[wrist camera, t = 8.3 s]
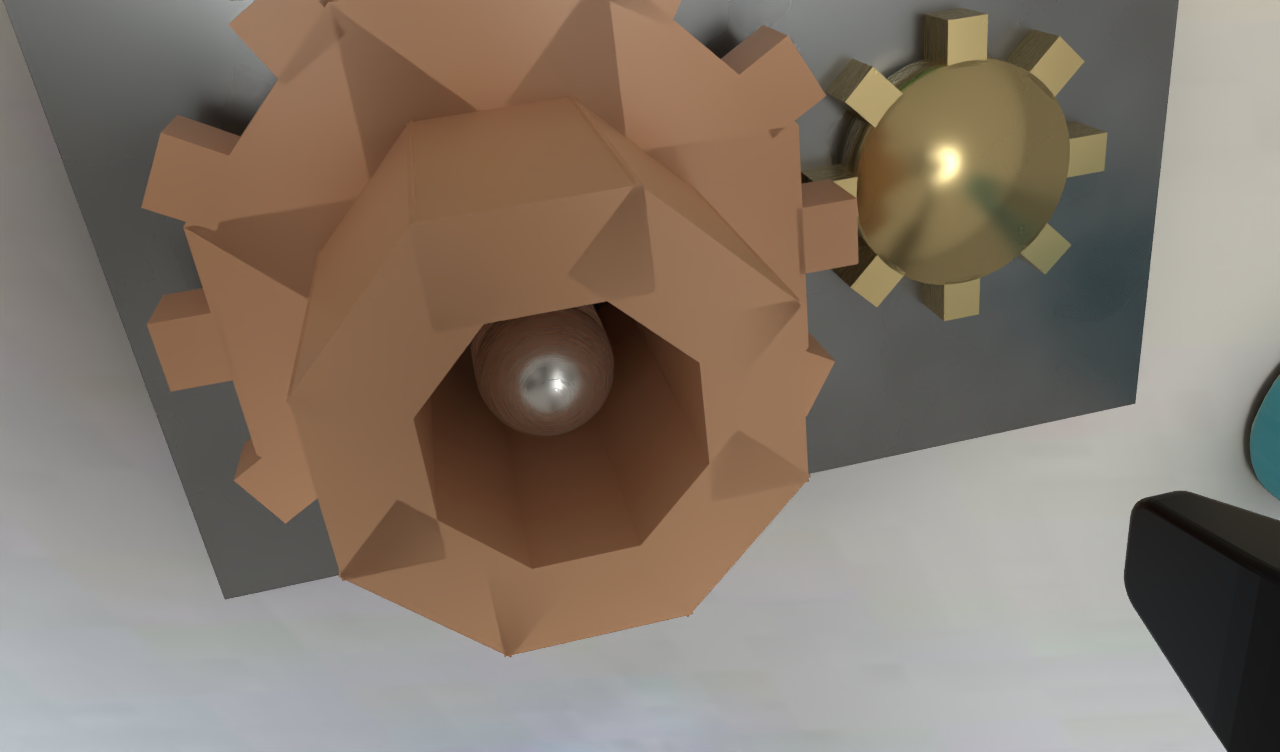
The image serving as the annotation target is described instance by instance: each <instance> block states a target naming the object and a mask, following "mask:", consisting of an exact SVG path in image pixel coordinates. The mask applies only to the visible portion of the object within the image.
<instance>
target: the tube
mask: <svg viewBox="0 0 1280 752" xmlns="http://www.w3.org/2000/svg"><path fill="white" fill-rule="evenodd" d="M1250 454H1251V462H1252V465H1253V468H1254V471H1255V474H1256V476H1257V478H1258V480H1259V481H1260V483H1261V484H1262V485H1263V486H1264V487H1265V488H1266V489H1267V490H1268V491H1269V492H1270V493H1271V494H1272V495H1273V496H1275V497H1276V498H1277V499H1279V500H1280V375H1279V376H1278V377H1277V379H1276V380H1275V381H1274V383H1273V384H1272V386H1271V388H1270V389H1269V391H1268V393H1267V395H1266V396H1265V398H1264V400H1263V402H1262V404H1261V406H1260V408H1259V410H1258V413H1257V415H1256V417H1255V419H1254V422H1253V424H1252V429H1251V434H1250Z"/></svg>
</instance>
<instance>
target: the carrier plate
mask: <svg viewBox="0 0 1280 752" xmlns="http://www.w3.org/2000/svg"><path fill="white" fill-rule="evenodd" d="M3 1H4V4H5V7H6V9H7V12H8V15H9V17H10V20H11V23H12V26H13V28H14V31H15V34H16V36H17V39H18V42H19V44H20V47H21V50H22V53H23V55H24V58H25V61H26V63H27V66H28V69H29V71H30V74H31V77H32V80H33V82H34V85H35V88H36V90H37V93H38V96H39V99H40V101H41V104H42V107H43V109H44V112H45V115H46V117H47V120H48V123H49V126H50V128H51V131H52V134H53V136H54V139H55V142H56V144H57V147H58V150H59V153H60V155H61V158H62V161H63V163H64V166H65V169H66V171H67V174H68V177H69V180H70V182H71V185H72V188H73V190H74V193H75V196H76V198H77V201H78V204H79V207H80V209H81V212H82V215H83V217H84V220H85V223H86V226H87V228H88V231H89V234H90V236H91V239H92V242H93V244H94V247H95V250H96V253H97V255H98V258H99V261H100V263H101V266H102V269H103V271H104V274H105V277H106V280H107V282H108V285H109V288H110V290H111V293H112V296H113V298H114V301H115V304H116V307H117V309H118V312H119V315H120V317H121V320H122V323H123V325H124V328H125V331H126V334H127V336H128V339H129V342H130V344H131V347H132V350H133V352H134V355H135V358H136V361H137V363H138V366H139V369H140V371H141V374H142V377H143V380H144V382H145V385H146V388H147V390H148V393H149V396H150V398H151V401H152V404H153V407H154V409H155V412H156V415H157V417H158V420H159V423H160V425H161V428H162V431H163V434H164V436H165V439H166V442H167V444H168V447H169V450H170V452H171V455H172V458H173V461H174V463H175V466H176V469H177V471H178V474H179V477H180V479H181V482H182V485H183V488H184V490H185V493H186V496H187V498H188V501H189V504H190V506H191V509H192V512H193V515H194V517H195V520H196V523H197V525H198V528H199V531H200V534H201V536H202V539H203V542H204V544H205V547H206V550H207V552H208V555H209V558H210V561H211V563H212V566H213V569H214V571H215V574H216V577H217V579H218V582H219V585H220V588H221V590H222V593H223V596H224V598H225V599H230V598H234V597H239V596H244V595H248V594H253V593H258V592H262V591H267V590H271V589H276V588H281V587H285V586H290V585H295V584H299V583H304V582H309V581H313V580H318V579H323V578H327V577H332V576H336V575H339V568H338V565H337V561H336V558H335V555H334V551H333V548H332V545H331V541H330V538H329V535H328V531H327V528H326V524H325V521H324V518H323V514H322V511H321V508H320V504H319V501H318V498H317V499H316V500H315V501H313V502H312V503H311V504H309V505H308V506H307V507H306V508H304V509H303V510H302V511H301V512H299V513H298V514H297V515H296V516H294V517H293V518H292V519H291V520H289V521H288V522H287V523H284V522H283V521H282V520H281V519H280V518H278V517H277V516H276V515H275V514H273V513H272V512H271V511H270V510H269V509H267V508H266V507H265V506H264V505H263V504H261V503H260V502H259V501H258V500H257V499H255V498H254V497H253V496H252V495H251V494H249V493H248V492H247V491H246V490H244V489H243V488H242V487H241V486H240V485H238V484H237V483H236V482H235V481H234V477H235V474H236V470H237V466H238V463H239V459H240V455H241V452H242V448H243V444H244V443H245V442H246V441H248V440H249V439H250V438H251V436H250V432H249V429H248V426H247V423H246V420H245V417H244V414H243V411H242V408H241V405H240V401H239V398H238V395H237V392H236V389H235V386H234V383H233V380H231V381H226V382H220V383H215V384H210V385H204V386H199V387H194V388H188V389H183V390H177V391H172V392H171V391H170V389H169V386H168V383H167V380H166V377H165V374H164V372H163V369H162V366H161V363H160V360H159V358H158V355H157V352H156V349H155V346H154V343H153V341H152V338H151V335H150V332H149V329H148V327H147V323H148V321H149V320H150V318H151V316H152V314H153V312H154V311H155V309H156V307H157V305H158V304H159V302H160V300H161V298H162V296H163V295H166V294H172V293H177V292H183V291H189V290H195V289H200V288H203V287H202V284H201V281H200V278H199V275H198V271H197V268H196V265H195V262H194V259H193V256H192V253H191V250H190V247H189V244H188V240H187V237H186V234H185V231H184V228H183V226H184V225H185V223H186V222H185V221H182V220H179V219H175V218H172V217H169V216H166V215H163V214H159V213H156V212H153V211H150V210H147V209H144V208H141V207H142V203H143V199H144V195H145V191H146V187H147V184H148V180H149V176H150V172H151V168H152V164H153V160H154V156H155V153H156V149H157V145H158V141H159V137H160V133H161V132H162V131H163V130H164V129H165V127H166V126H167V125H168V124H169V123H170V122H171V121H172V120H173V119H174V118H175V117H176V115H180V116H183V117H186V118H189V119H192V120H195V121H197V122H200V123H203V124H206V125H209V126H212V127H215V128H218V129H221V130H223V131H226V132H229V133H232V134H235V135H238V136H241V135H242V134H243V132H244V131H245V129H246V127H247V126H248V124H249V123H250V121H251V120H252V118H253V117H254V115H255V113H256V112H257V110H258V109H259V107H260V106H261V104H262V103H263V101H264V99H265V98H266V96H267V95H268V93H269V92H270V90H271V89H272V87H273V85H274V84H275V82H276V81H277V79H278V78H277V77H276V76H275V75H274V74H273V73H272V72H271V71H270V69H269V68H268V67H267V66H266V65H265V64H264V63H263V62H262V61H261V60H260V59H259V58H258V56H257V55H256V54H255V53H254V52H253V51H252V50H251V49H250V48H249V47H248V46H247V45H246V43H245V42H244V41H243V40H242V39H241V38H240V37H239V36H238V35H237V34H236V33H235V32H234V30H233V29H232V28H231V27H230V26H229V25H228V24H229V23H230V22H231V21H233V20H234V19H235V18H236V17H237V16H238V15H239V14H240V13H242V12H243V11H244V10H245V9H246V8H247V7H249V6H250V5H251V4H252V3H253V2H254V1H255V0H3ZM1178 1H1179V0H681V2H680V5H679V7H678V10H677V12H676V14H675V17H674V19H673V20H674V21H675V22H677V23H678V24H679V25H680V26H681V27H683V28H684V29H685V30H686V31H687V32H689V33H690V34H691V35H692V36H693V37H695V38H696V39H697V40H698V41H699V42H701V43H702V44H703V45H704V46H705V47H707V48H708V49H709V50H710V51H711V52H713V53H714V54H715V55H716V56H717V57H719V58H720V59H721V58H723V57H724V56H725V55H726V54H728V53H729V52H730V51H731V50H733V49H734V48H735V47H736V46H738V45H739V44H740V43H741V42H742V41H744V40H745V39H746V38H747V37H749V36H750V35H751V34H752V33H754V32H755V31H756V30H757V29H759V28H760V27H761V26H762V25H764V26H767V27H769V28H771V29H774V30H776V31H778V32H781V33H783V34H786V35H788V36H789V38H790V39H791V41H792V42H793V44H794V46H795V47H796V49H797V50H798V52H799V53H800V55H801V57H802V58H803V60H804V61H805V63H806V65H807V66H808V68H809V69H810V71H811V72H812V74H813V76H814V77H815V79H816V80H817V82H818V83H819V85H820V87H821V88H822V90H823V91H824V93H825V94H826V97H824V98H823V99H822V100H821V101H819V102H818V103H817V104H815V105H814V106H813V107H812V108H810V109H809V110H808V111H807V112H805V113H804V114H803V115H802V116H800V117H799V118H798V119H796V120H795V122H796V123H798V125H799V142H800V164H801V184H803V183H809V182H814V181H820V180H826V179H831V180H832V181H833V182H835V183H836V184H838V185H839V186H840V187H842V188H843V189H845V190H846V191H847V192H849V193H850V194H852V195H853V196H854V197H856V198H857V220H858V264H855V265H849V266H844V267H839V268H833V269H828V270H822V271H817V272H812V273H806V296H807V318H808V333H810V334H811V335H812V336H813V337H814V338H815V339H816V340H817V341H818V342H819V344H820V345H821V346H822V347H823V348H824V349H825V350H826V351H827V353H828V354H829V355H830V356H831V357H832V358H833V359H834V360H835V363H834V365H833V367H832V369H831V371H830V372H829V374H828V376H827V378H826V380H825V382H824V384H823V386H822V388H821V390H820V392H819V394H818V396H817V398H816V400H815V401H814V403H813V405H812V407H811V409H810V411H809V413H808V415H807V417H806V416H805V417H806V438H807V458H808V473H809V474H810V473H815V472H819V471H824V470H829V469H833V468H838V467H843V466H847V465H852V464H857V463H861V462H866V461H871V460H875V459H880V458H884V457H889V456H894V455H898V454H903V453H908V452H912V451H917V450H922V449H926V448H931V447H936V446H940V445H945V444H949V443H954V442H959V441H963V440H968V439H973V438H977V437H982V436H987V435H991V434H996V433H1001V432H1005V431H1010V430H1014V429H1019V428H1024V427H1028V426H1033V425H1038V424H1042V423H1047V422H1052V421H1056V420H1061V419H1066V418H1070V417H1075V416H1079V415H1084V414H1089V413H1093V412H1098V411H1103V410H1107V409H1112V408H1117V407H1121V406H1126V405H1131V404H1135V400H1136V391H1137V382H1138V372H1139V363H1140V354H1141V344H1142V335H1143V326H1144V317H1145V307H1146V298H1147V289H1148V280H1149V270H1150V261H1151V252H1152V242H1153V233H1154V224H1155V215H1156V205H1157V196H1158V187H1159V178H1160V168H1161V159H1162V150H1163V140H1164V131H1165V122H1166V113H1167V103H1168V94H1169V85H1170V76H1171V66H1172V57H1173V48H1174V38H1175V29H1176V20H1177V11H1178ZM603 304H604V302H600V303H595V304H589V305H584V306H579V307H573V308H568V309H562V310H557V311H552V312H546V313H541V314H535V315H530V316H524V317H519V318H514V319H508V320H503V321H497V322H492V323H487V324H484V325H483V326H482V327H481V329H480V330H479V331H478V333H477V334H476V335H475V337H474V338H473V339H472V341H471V342H470V343H469V345H468V347H469V348H471V353H472V359H473V366H474V373H475V380H476V383H477V387H478V390H479V393H480V395H481V397H482V399H483V401H484V403H485V404H486V406H487V407H488V409H489V410H490V411H491V412H492V413H493V415H494V416H495V417H497V418H498V419H499V420H500V421H501V422H503V423H504V424H506V425H507V426H509V427H510V428H512V429H514V430H516V431H519V432H522V433H525V434H529V435H534V436H555V435H560V434H564V433H567V432H570V431H572V430H574V429H576V428H578V427H580V426H582V425H583V424H585V423H586V422H587V421H589V420H590V419H591V418H592V417H593V416H594V415H595V414H596V413H597V412H598V411H599V409H600V408H601V407H602V405H603V404H604V402H605V400H606V398H607V396H608V394H609V391H610V389H611V386H612V382H613V377H614V357H613V352H612V348H611V344H610V342H609V339H608V337H607V334H606V332H605V330H604V328H603V326H602V323H601V321H600V319H599V317H598V314H597V311H598V310H599V309H600V308H601V306H602V305H603Z"/></svg>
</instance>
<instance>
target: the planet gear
mask: <svg viewBox="0 0 1280 752" xmlns="http://www.w3.org/2000/svg"><path fill="white" fill-rule="evenodd" d="M680 2H681V0H255V1H254V2H253V3H252V4H251V5H250V6H249V7H247V8H246V9H245V10H244V11H243V12H242V13H240V14H239V15H238V16H237V17H236V18H235V19H234V20H233V21H231V22H230V23H229V24H228V25H229V26H230V27H231V28H232V29H233V30H234V32H235V33H236V34H237V35H238V36H239V37H240V38H241V39H242V40H243V41H244V42H245V43H246V45H247V46H248V47H249V48H250V49H251V50H252V51H253V52H254V53H255V54H256V55H257V56H258V58H259V59H260V60H261V61H262V62H263V63H264V64H265V65H266V66H267V67H268V68H269V69H270V71H271V72H272V73H273V74H274V75H275V76H276V77H277V78H278V79H277V81H276V82H275V84H274V85H273V87H272V89H271V90H270V92H269V93H268V95H267V96H266V98H265V99H264V101H263V103H262V104H261V106H260V107H259V109H258V110H257V112H256V113H255V115H254V117H253V118H252V120H251V121H250V123H249V124H248V126H247V127H246V129H245V131H244V132H243V134H242V135H241V136H238V135H235V134H232V133H229V132H226V131H223V130H221V129H218V128H215V127H212V126H209V125H206V124H203V123H200V122H197V121H195V120H192V119H189V118H186V117H183V116H180V115H176V117H175V118H174V119H173V120H172V121H171V122H170V123H169V124H168V125H167V126H166V127H165V129H164V130H163V131H162V132H161V133H160V137H159V141H158V145H157V149H156V153H155V156H154V160H153V164H152V168H151V172H150V176H149V180H148V184H147V187H146V191H145V195H144V199H143V203H142V207H141V208H144V209H147V210H150V211H153V212H156V213H159V214H163V215H166V216H169V217H172V218H175V219H179V220H182V221H185V222H186V223H185V225H184V226H183V228H184V231H185V234H186V237H187V240H188V244H189V247H190V250H191V253H192V256H193V259H194V262H195V265H196V268H197V271H198V275H199V278H200V281H201V284H202V287H203V288H200V289H195V290H189V291H183V292H177V293H172V294H166V295H163V296H162V298H161V300H160V302H159V304H158V305H157V307H156V309H155V311H154V312H153V314H152V316H151V318H150V320H149V321H148V323H147V327H148V329H149V332H150V335H151V338H152V341H153V343H154V346H155V349H156V352H157V355H158V358H159V360H160V363H161V366H162V369H163V372H164V374H165V377H166V380H167V383H168V386H169V389H170V391H171V392H172V391H177V390H183V389H188V388H194V387H199V386H204V385H210V384H215V383H220V382H226V381H231V380H233V383H234V386H235V389H236V392H237V395H238V398H239V401H240V405H241V408H242V411H243V414H244V417H245V420H246V423H247V426H248V429H249V432H250V436H251V438H250V439H249V440H248V441H246V442H245V443H244V444H243V448H242V452H241V455H240V459H239V463H238V466H237V470H236V474H235V477H234V481H235V482H236V483H237V484H238V485H240V486H241V487H242V488H243V489H244V490H246V491H247V492H248V493H249V494H251V495H252V496H253V497H254V498H255V499H257V500H258V501H259V502H260V503H261V504H263V505H264V506H265V507H266V508H267V509H269V510H270V511H271V512H272V513H273V514H275V515H276V516H277V517H278V518H280V519H281V520H282V521H283V522H284V523H287V522H288V521H289V520H291V519H292V518H293V517H294V516H296V515H297V514H298V513H299V512H301V511H302V510H303V509H304V508H306V507H307V506H308V505H309V504H311V503H312V502H313V501H315V500H316V499H317V498H318V501H319V504H320V508H321V511H322V514H323V518H324V521H325V524H326V528H327V531H328V535H329V538H330V541H331V545H332V548H333V551H334V555H335V558H336V561H337V565H338V568H339V575H338V577H340V578H342V581H344V580H347V581H349V582H351V583H353V584H355V585H357V586H360V587H362V588H364V589H366V590H368V591H370V592H372V593H375V594H377V595H379V596H381V597H383V598H385V599H387V600H389V601H392V602H394V603H396V604H398V605H400V606H402V607H404V608H407V609H409V610H411V611H413V612H415V613H417V614H419V615H421V616H424V617H426V618H428V619H430V620H432V621H434V622H436V623H439V624H441V625H443V626H445V627H447V628H449V629H451V630H453V631H456V632H458V633H460V634H462V635H464V636H466V637H468V638H471V639H473V640H475V641H477V642H479V643H481V644H483V645H485V646H488V647H490V648H492V649H494V650H496V651H498V652H500V653H503V654H504V656H505V657H506V656H509V657H511V656H512V655H514V654H519V653H523V652H528V651H532V650H536V649H541V648H545V647H550V646H554V645H558V644H563V643H567V642H572V641H576V640H580V639H585V638H589V637H594V636H598V635H602V634H607V633H611V632H616V631H620V630H625V629H629V628H633V627H638V626H642V625H647V624H651V623H655V622H660V621H664V620H669V619H673V618H677V617H682V616H687V617H688V616H689V615H691V614H693V611H694V609H695V608H696V607H697V606H698V605H699V604H700V603H701V601H702V600H703V599H704V598H705V597H706V596H707V595H708V593H709V592H710V591H711V590H712V589H713V588H714V587H715V585H716V584H717V583H718V582H719V581H720V580H721V578H722V577H723V576H724V575H725V574H726V573H727V572H728V570H729V569H730V568H731V567H732V566H733V565H734V564H735V562H736V561H737V560H738V559H739V558H740V557H741V556H742V554H743V553H744V552H745V551H746V550H747V549H748V548H749V546H750V545H751V544H752V543H753V542H754V541H755V539H756V538H757V537H758V536H759V535H760V534H761V533H762V531H763V530H764V529H765V528H766V527H767V526H768V525H769V523H770V522H771V521H772V520H773V519H774V518H775V517H776V515H777V514H778V513H779V512H780V511H781V510H782V508H783V507H784V506H785V505H786V504H787V503H788V502H789V500H790V499H791V498H792V497H793V496H794V495H795V494H796V492H797V491H798V490H799V489H800V488H801V487H802V486H803V484H804V483H805V482H808V481H809V478H810V474H809V473H808V458H807V438H806V417H807V415H808V413H809V411H810V409H811V407H812V405H813V403H814V401H815V400H816V398H817V396H818V394H819V392H820V390H821V388H822V386H823V384H824V382H825V380H826V378H827V376H828V374H829V372H830V371H831V369H832V367H833V365H834V363H835V360H834V359H833V358H832V357H831V356H830V355H829V354H828V353H827V351H826V350H825V349H824V348H823V347H822V346H821V345H820V344H819V342H818V341H817V340H816V339H815V338H814V337H813V336H812V335H811V334H810V333H808V318H807V296H806V273H812V272H817V271H822V270H828V269H833V268H839V267H844V266H849V265H855V264H858V220H857V198H856V197H854V196H853V195H852V194H850V193H849V192H847V191H846V190H845V189H843V188H842V187H840V186H839V185H838V184H836V183H835V182H833V181H832V180H831V179H826V180H820V181H814V182H809V183H803V184H801V164H800V142H799V125H798V123H796V122H795V120H796V119H798V118H799V117H800V116H802V115H803V114H804V113H805V112H807V111H808V110H809V109H810V108H812V107H813V106H814V105H815V104H817V103H818V102H819V101H821V100H822V99H823V98H824V97H826V94H825V93H824V91H823V90H822V88H821V87H820V85H819V83H818V82H817V80H816V79H815V77H814V76H813V74H812V72H811V71H810V69H809V68H808V66H807V65H806V63H805V61H804V60H803V58H802V57H801V55H800V53H799V52H798V50H797V49H796V47H795V46H794V44H793V42H792V41H791V39H790V38H789V36H788V35H786V34H783V33H781V32H778V31H776V30H774V29H771V28H769V27H767V26H764V25H762V26H761V27H760V28H759V29H757V30H756V31H755V32H754V33H752V34H751V35H750V36H749V37H747V38H746V39H745V40H744V41H742V42H741V43H740V44H739V45H738V46H736V47H735V48H734V49H733V50H731V51H730V52H729V53H728V54H726V55H725V56H724V57H723V58H721V59H720V58H719V57H717V56H716V55H715V54H714V53H713V52H711V51H710V50H709V49H708V48H707V47H705V46H704V45H703V44H702V43H701V42H699V41H698V40H697V39H696V38H695V37H693V36H692V35H691V34H690V33H689V32H687V31H686V30H685V29H684V28H683V27H681V26H680V25H679V24H678V23H677V22H675V21H674V20H673V19H674V17H675V14H676V12H677V10H678V7H679V5H680ZM600 302H604V304H603V305H602V306H601V308H600V309H599V310H598V311H597V314H598V317H599V319H600V321H601V323H602V326H603V328H604V330H605V332H606V334H607V337H608V339H609V342H610V344H611V348H612V352H613V357H614V377H613V382H612V386H611V389H610V391H609V394H608V396H607V398H606V400H605V402H604V404H603V405H602V407H601V408H600V409H599V411H598V412H597V413H596V414H595V415H594V416H593V417H592V418H591V419H590V420H589V421H587V422H586V423H585V424H583V425H582V426H580V427H578V428H576V429H574V430H572V431H570V432H567V433H564V434H560V435H555V436H534V435H529V434H525V433H522V432H519V431H516V430H514V429H512V428H510V427H509V426H507V425H506V424H504V423H503V422H501V421H500V420H499V419H498V418H497V417H495V416H494V415H493V413H492V412H491V411H490V410H489V409H488V407H487V406H486V404H485V403H484V401H483V399H482V397H481V395H480V393H479V390H478V387H477V383H476V380H475V373H474V366H473V359H472V353H471V348H469V347H468V345H469V343H470V342H471V341H472V339H473V338H474V337H475V335H476V334H477V333H478V331H479V330H480V329H481V327H482V326H483V325H484V324H487V323H492V322H497V321H503V320H508V319H514V318H519V317H524V316H530V315H535V314H541V313H546V312H552V311H557V310H562V309H568V308H573V307H579V306H584V305H589V304H595V303H600ZM805 416H806V417H805Z"/></svg>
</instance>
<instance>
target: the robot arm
mask: <svg viewBox="0 0 1280 752" xmlns="http://www.w3.org/2000/svg"><path fill="white" fill-rule="evenodd" d="M1124 582H1125V588H1126V591H1127V595H1128V597H1129V599H1130V602H1131V603H1132V605H1133V607H1134V609H1135V610H1136V612H1137V613H1138V615H1139V616H1140V618H1141V619H1142V621H1143V623H1144V624H1145V626H1146V627H1147V629H1148V630H1149V632H1150V633H1151V635H1152V637H1153V638H1154V640H1155V641H1156V643H1157V644H1158V646H1159V647H1160V649H1161V651H1162V652H1163V654H1164V655H1165V657H1166V658H1167V660H1168V661H1169V663H1170V665H1171V666H1172V668H1173V669H1174V671H1175V672H1176V674H1177V676H1178V677H1179V679H1180V680H1181V682H1182V683H1183V685H1184V686H1185V688H1186V690H1187V691H1188V693H1189V694H1190V696H1191V697H1192V699H1193V700H1194V702H1195V704H1196V705H1197V707H1198V708H1199V710H1200V711H1201V713H1202V714H1203V716H1204V718H1205V719H1206V721H1207V722H1208V724H1209V725H1210V727H1211V728H1212V730H1213V731H1214V733H1215V734H1216V736H1217V737H1218V739H1219V740H1220V741H1221V743H1222V744H1223V746H1224V747H1225V749H1226V750H1227V752H1280V521H1279V520H1276V519H1273V518H1270V517H1267V516H1264V515H1260V514H1257V513H1254V512H1251V511H1248V510H1245V509H1242V508H1239V507H1235V506H1232V505H1229V504H1226V503H1223V502H1220V501H1217V500H1214V499H1210V498H1207V497H1204V496H1201V495H1198V494H1195V493H1192V492H1188V491H1173V492H1169V493H1164V494H1160V495H1156V496H1151V497H1147V498H1144V499H1141V500H1140V501H1138V502H1137V503H1136V504H1135V506H1134V507H1133V509H1132V511H1131V516H1130V524H1129V533H1128V542H1127V551H1126V560H1125V569H1124Z"/></svg>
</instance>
